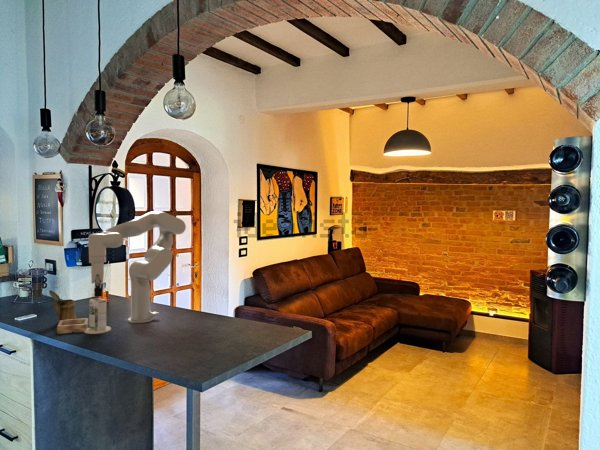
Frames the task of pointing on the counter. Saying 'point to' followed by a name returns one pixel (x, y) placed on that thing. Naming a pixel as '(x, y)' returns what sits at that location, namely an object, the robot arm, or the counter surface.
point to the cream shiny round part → (97, 331)
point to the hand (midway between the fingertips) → (98, 294)
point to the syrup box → (97, 314)
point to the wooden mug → (64, 308)
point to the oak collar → (72, 325)
